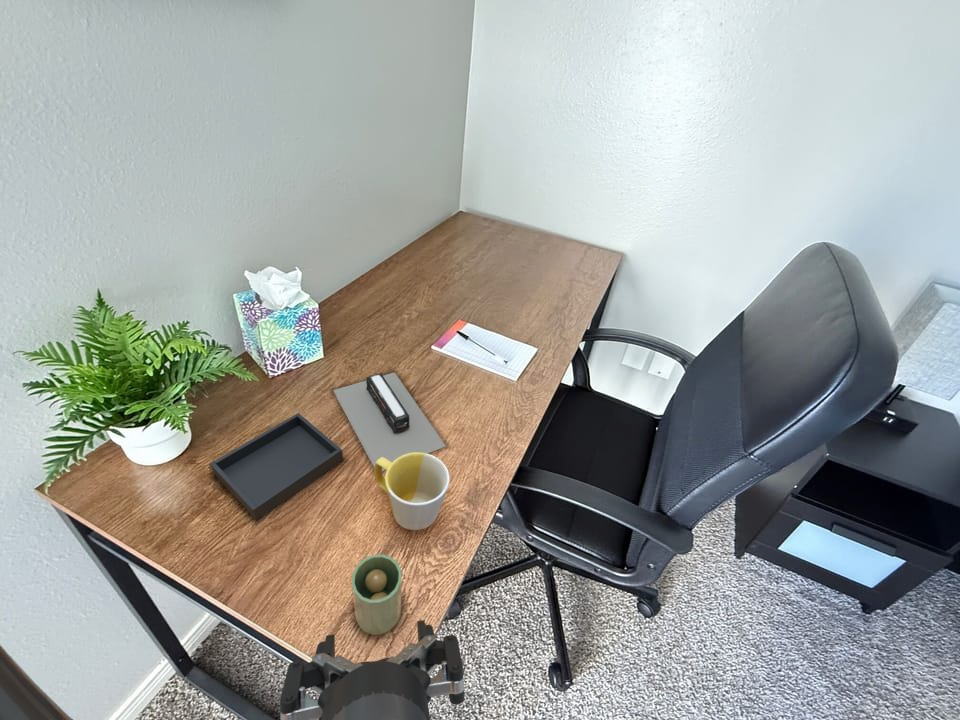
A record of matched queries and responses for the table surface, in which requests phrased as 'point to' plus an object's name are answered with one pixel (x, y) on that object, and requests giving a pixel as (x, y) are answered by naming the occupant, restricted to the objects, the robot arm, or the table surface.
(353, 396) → the grey flat rectangular panel
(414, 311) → the table surface
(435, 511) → the mug
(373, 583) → the ball
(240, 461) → the tray
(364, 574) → the tumbler
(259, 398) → the table surface
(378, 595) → the ball
